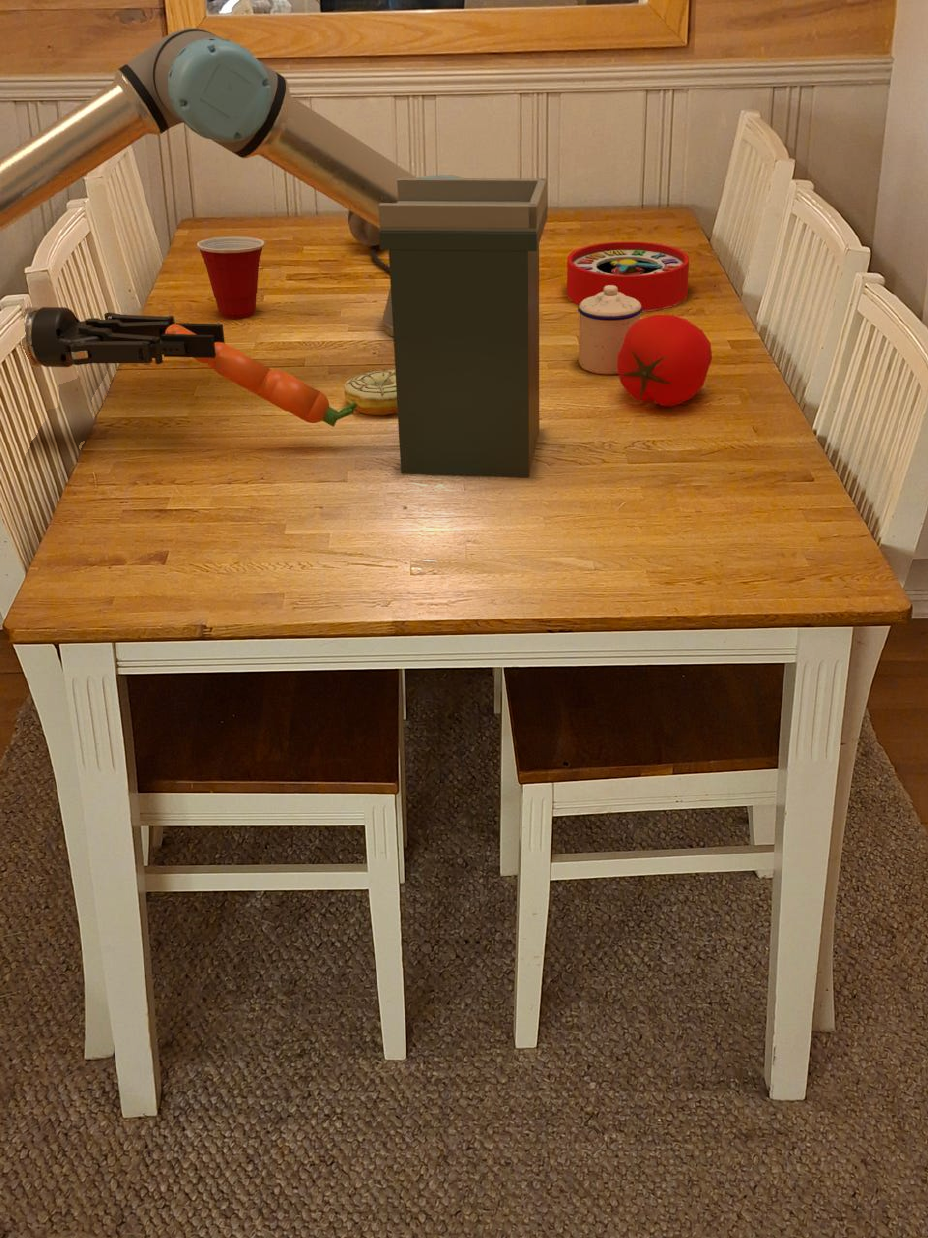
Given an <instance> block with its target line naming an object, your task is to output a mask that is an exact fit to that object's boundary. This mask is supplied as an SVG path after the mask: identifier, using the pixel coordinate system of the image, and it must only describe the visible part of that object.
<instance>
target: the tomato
mask: <svg viewBox="0 0 928 1238" xmlns="http://www.w3.org/2000/svg"><path fill="white" fill-rule="evenodd" d="M712 360H713V352H712V345H711V342H710V340H709V338H708V337H707V335H706V334H705V332H704V330H702V329H701V328H699V327H698V326H697V325H696V324H693V322H690V321H689V320H687V319H686V318H684V317H680V316H676V315H673V314H653V315H649V316H646V317H642V318H640V320H638V321H637V322H635V323H634V324H633V325H632V326H631V327H630V328H629V330H628V332H627V334H626V336H625V339H624V342H623V345H622V348H621V350H620V352H619V354H618V362H617V368H618V373H619V374H618V376H619V381H620V384H621V385H622V387H623V388H624V389H625V390H626V392H627V394H629V395H630V396H631V397H632V399H634V400H638V401H640V402H643V403H656V404H657V405H659V406H665V407H671V408H672V407H673V408H674V407H676V406H677V405H680V404H682V403H685V402H686V401H689V400H691V399H692V398H693V397H694V396H696V394H697V393H698V392H699V391H700V390H701V389H702V388H703V386H704V384H705V381H706V378H707V375H708V372H709V370H710V369H709V368H710V366H711V362H712Z"/></svg>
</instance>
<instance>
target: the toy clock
mask: <svg viewBox="0 0 928 1238" xmlns="http://www.w3.org/2000/svg"><path fill="white" fill-rule="evenodd" d="M566 258H567V259H566V297H567V299H569V300H570V301H571V302H573V303H574V304H576V305H580V303H581V302H582V301H583V300H584V299H586V298H588V297H592V296H595V295H597V294H598V293H601V292H604V287H605V286H608V285H614V286H616V287H617V288H618V292H620V293H622V294H624V295H626V296H629V297H632V298H635V299H636V300H638V301H639V302H640V304H641V307H642V311H641V313H645V312H653V311H660V310H664V309H668V308H672V307H674V306H677V305H679V304H680V303H682V302H684V301H685V300H686V299H687V298H688V294H689V293H688V292H689V275H690V274H689V273H690V272H689V271H690V256H689V255H688V253H686V252H685V251H683V250H682V249H680V248H677V247H674V246H671V245H667V244H663V243H655V242H646V241H609V242H608V241H607V242H601V243H595V244H590V245H586V246H583V247H579V248H577V249H575V250H574V251H572V252H570V253H569V254H568V256H567V257H566Z"/></svg>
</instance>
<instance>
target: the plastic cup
mask: <svg viewBox="0 0 928 1238" xmlns="http://www.w3.org/2000/svg"><path fill="white" fill-rule="evenodd" d="M196 247H197V249H198V250H199V252H200V253H201V258H202V259H203V263H204V266H205V269H206V272H207V276H208V279H209V280H208V281H209V284H210V287H211V290H212V293H213V297H214V299H215V302H216V307H217V310H218V313H219V315H220V317H222V318H224V319H228V320H240V319H246V318H250V317H252V316H254V315H255V314H256V310H257V294H258V288H259V285H258V284H259V271H260V262H261V255H262V251H263V248H264V247H265V240H263V239H260V238H257V237H253V236H237V235H235V236H217V237H216V236H215V237H210V238H206V239H202V240H199V241H198V242H197V243H196Z"/></svg>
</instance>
